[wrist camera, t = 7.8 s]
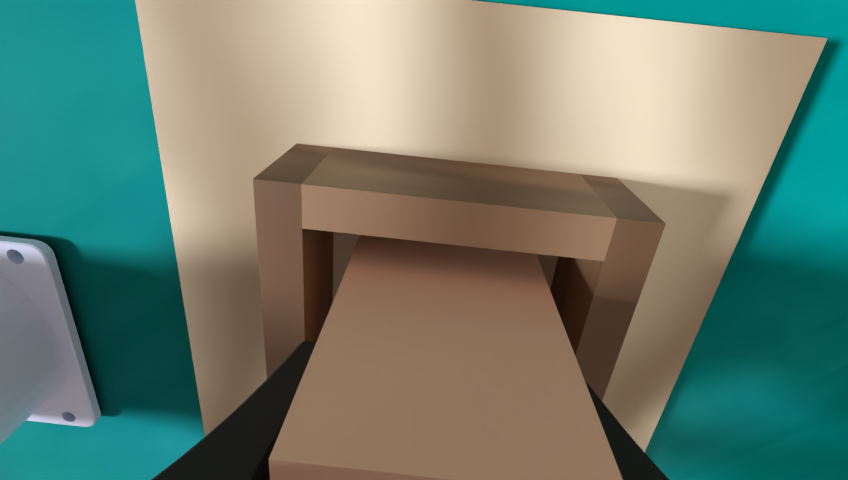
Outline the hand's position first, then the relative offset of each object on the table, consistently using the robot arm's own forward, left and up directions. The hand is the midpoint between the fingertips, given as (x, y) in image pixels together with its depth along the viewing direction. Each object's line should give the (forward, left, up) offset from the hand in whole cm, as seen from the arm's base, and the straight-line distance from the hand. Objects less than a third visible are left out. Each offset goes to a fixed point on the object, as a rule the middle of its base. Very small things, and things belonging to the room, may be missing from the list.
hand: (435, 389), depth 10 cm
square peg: (0, 0, -4) cm, 4 cm away
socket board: (0, 0, -5) cm, 5 cm away
